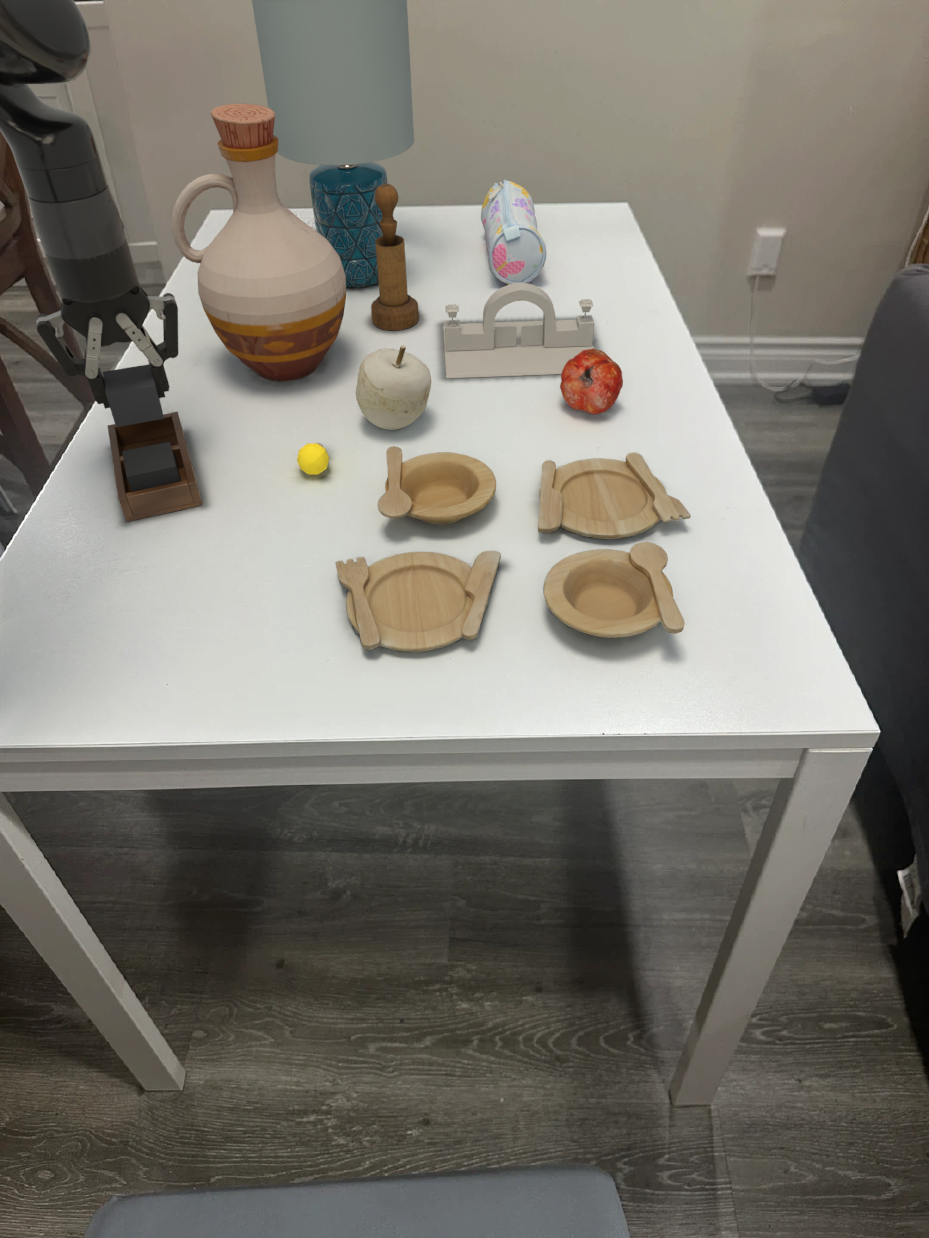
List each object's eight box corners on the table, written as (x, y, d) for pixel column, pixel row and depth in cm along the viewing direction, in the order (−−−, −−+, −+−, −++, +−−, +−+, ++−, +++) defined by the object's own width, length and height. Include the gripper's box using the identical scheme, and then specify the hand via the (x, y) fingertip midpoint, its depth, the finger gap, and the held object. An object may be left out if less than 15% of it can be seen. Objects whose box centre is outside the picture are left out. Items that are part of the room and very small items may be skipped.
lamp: (306, 252, 141) (265, -38, 114) (425, 252, 140) (411, -39, 113) (284, 304, 127) (232, -10, 100) (415, 305, 126) (397, -12, 100)
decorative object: (346, 418, 105) (336, 341, 98) (409, 397, 108) (404, 321, 101) (381, 453, 99) (374, 374, 92) (447, 429, 102) (444, 351, 95)
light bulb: (303, 483, 95) (289, 454, 93) (311, 466, 100) (298, 438, 99) (331, 474, 95) (318, 444, 93) (338, 457, 100) (325, 428, 98)
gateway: (445, 351, 116) (443, 293, 110) (445, 343, 118) (443, 285, 112) (592, 346, 116) (597, 287, 111) (589, 337, 118) (594, 279, 112)
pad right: (116, 427, 93) (105, 393, 90) (112, 404, 96) (102, 371, 93) (164, 419, 94) (155, 385, 91) (159, 397, 97) (150, 364, 94)
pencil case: (480, 237, 144) (480, 176, 137) (532, 235, 144) (535, 174, 137) (488, 292, 129) (488, 226, 122) (546, 290, 129) (549, 224, 122)
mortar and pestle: (390, 335, 120) (378, 198, 107) (363, 319, 123) (349, 185, 110) (428, 321, 123) (421, 185, 110) (400, 305, 126) (391, 173, 113)
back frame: (126, 522, 91) (118, 499, 89) (115, 447, 101) (107, 425, 99) (202, 505, 93) (196, 482, 91) (183, 433, 103) (177, 411, 101)
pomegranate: (564, 405, 110) (537, 390, 101) (591, 351, 108) (565, 330, 99) (615, 429, 108) (591, 416, 98) (643, 374, 106) (621, 355, 97)
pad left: (137, 507, 92) (126, 476, 89) (132, 481, 95) (121, 451, 92) (185, 497, 93) (175, 466, 90) (178, 471, 96) (169, 441, 94)
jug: (191, 404, 108) (120, 137, 86) (218, 336, 120) (162, 89, 99) (349, 400, 107) (316, 133, 86) (359, 333, 120) (333, 86, 99)
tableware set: (670, 467, 96) (676, 435, 93) (722, 661, 76) (732, 628, 73) (356, 469, 97) (352, 437, 94) (322, 661, 76) (315, 629, 73)
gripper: (3, 267, 78) (67, 430, 90) (166, 242, 81) (207, 403, 93) (3, 237, 83) (64, 395, 95) (157, 215, 86) (197, 370, 98)
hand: (135, 398), depth 94 cm, fingers closed on pad right, 5 cm apart
